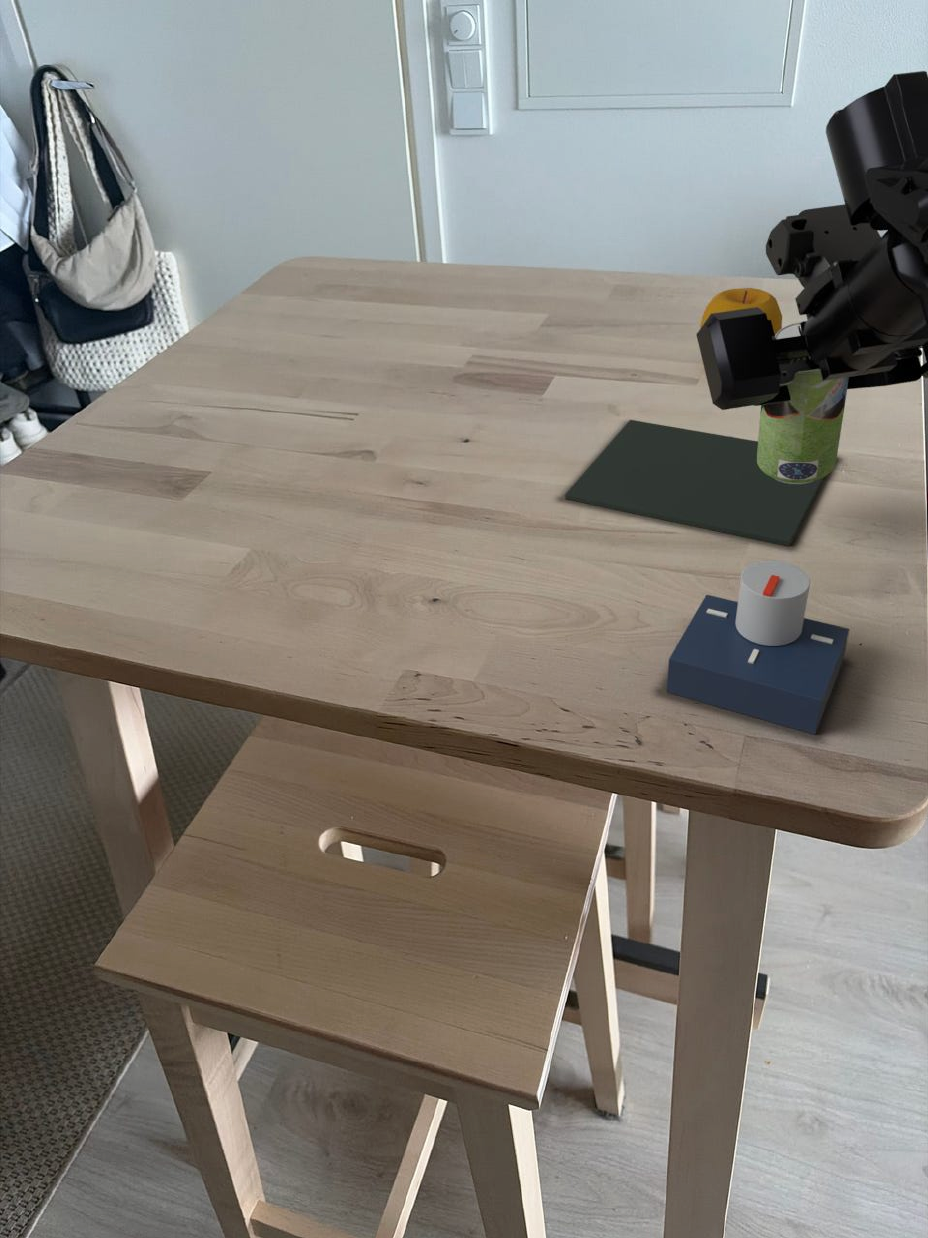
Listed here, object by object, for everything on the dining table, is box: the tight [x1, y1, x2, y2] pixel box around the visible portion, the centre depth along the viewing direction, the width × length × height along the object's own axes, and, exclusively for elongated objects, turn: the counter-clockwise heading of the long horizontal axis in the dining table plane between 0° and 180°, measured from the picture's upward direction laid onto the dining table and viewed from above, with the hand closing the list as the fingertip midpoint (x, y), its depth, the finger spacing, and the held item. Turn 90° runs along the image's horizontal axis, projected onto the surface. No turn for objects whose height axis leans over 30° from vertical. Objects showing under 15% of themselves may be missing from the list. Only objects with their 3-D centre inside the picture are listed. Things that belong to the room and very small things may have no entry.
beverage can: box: [757, 321, 849, 484], centre depth 76 cm, size 6×7×12 cm
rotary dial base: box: [666, 594, 850, 735], centre depth 69 cm, size 10×10×3 cm
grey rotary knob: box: [735, 560, 811, 646], centre depth 67 cm, size 4×4×4 cm
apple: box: [699, 287, 783, 336], centre depth 106 cm, size 8×8×9 cm
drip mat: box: [564, 419, 825, 547], centre depth 91 cm, size 20×16×1 cm
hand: (788, 390), depth 76 cm, fingers closed on beverage can, 6 cm apart
